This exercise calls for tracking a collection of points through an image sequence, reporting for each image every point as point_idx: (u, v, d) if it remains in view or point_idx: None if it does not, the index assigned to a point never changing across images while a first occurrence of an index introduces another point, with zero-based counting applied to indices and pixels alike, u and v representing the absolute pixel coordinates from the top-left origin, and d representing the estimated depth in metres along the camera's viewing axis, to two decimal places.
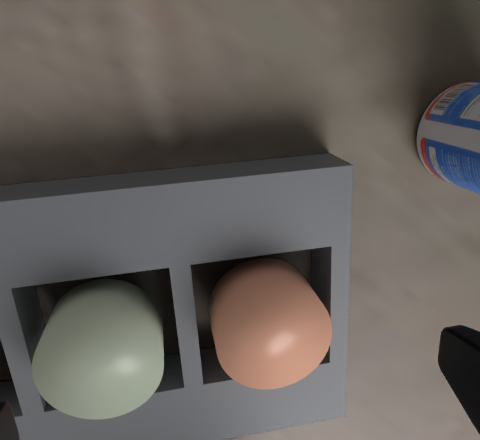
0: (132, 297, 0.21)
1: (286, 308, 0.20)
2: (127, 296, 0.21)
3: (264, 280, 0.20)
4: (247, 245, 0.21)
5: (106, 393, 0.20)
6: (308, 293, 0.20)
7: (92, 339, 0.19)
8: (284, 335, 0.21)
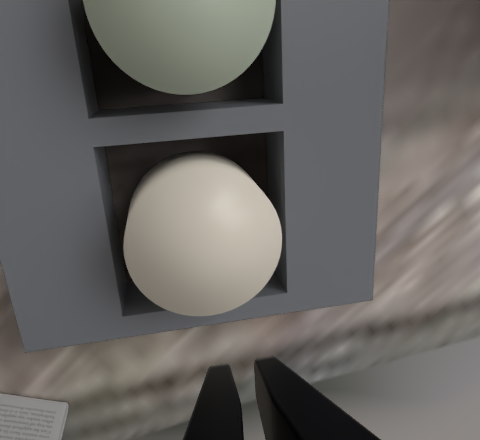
0: None
1: None
2: None
3: None
4: None
5: None
6: None
7: None
8: None
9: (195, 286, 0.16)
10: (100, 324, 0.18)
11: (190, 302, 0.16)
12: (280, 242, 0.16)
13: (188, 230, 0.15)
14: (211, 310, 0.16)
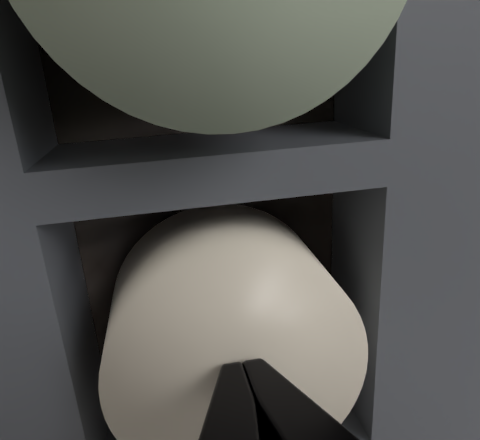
0: None
1: None
2: None
3: None
4: None
5: None
6: None
7: None
8: None
9: None
10: None
11: None
12: (364, 365, 0.10)
13: (212, 356, 0.09)
14: None
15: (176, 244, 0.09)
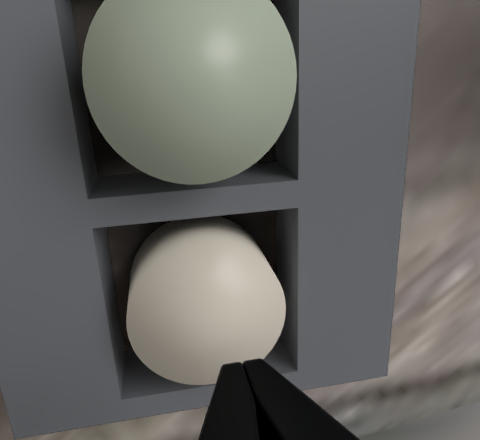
0: None
1: None
2: None
3: None
4: None
5: (244, 75, 0.12)
6: None
7: (134, 85, 0.11)
8: None
9: (197, 356, 0.16)
10: (97, 408, 0.17)
11: (192, 372, 0.16)
12: (284, 312, 0.16)
13: (192, 303, 0.15)
14: (213, 379, 0.16)
15: (172, 238, 0.16)
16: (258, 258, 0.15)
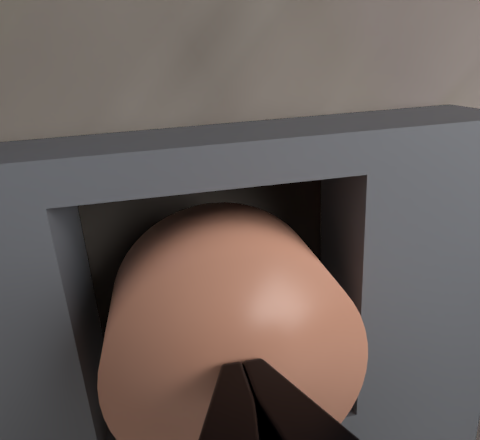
0: None
1: (156, 368, 0.09)
2: None
3: None
4: (56, 380, 0.10)
5: None
6: (115, 327, 0.08)
7: None
8: (229, 362, 0.09)
9: None
10: None
11: None
12: None
13: None
14: None
15: None
16: None
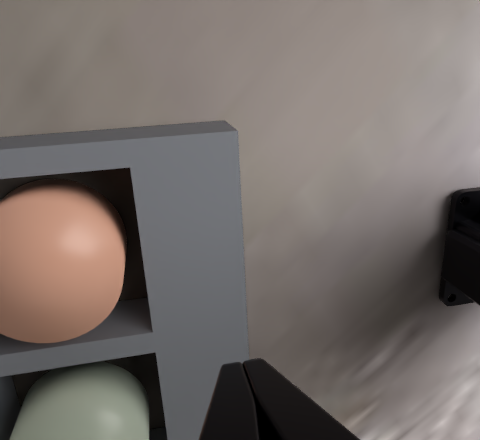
0: (20, 413, 0.18)
1: None
2: (17, 419, 0.18)
3: None
4: None
5: None
6: None
7: None
8: (34, 266, 0.16)
9: None
10: None
11: None
12: None
13: None
14: None
15: None
16: None
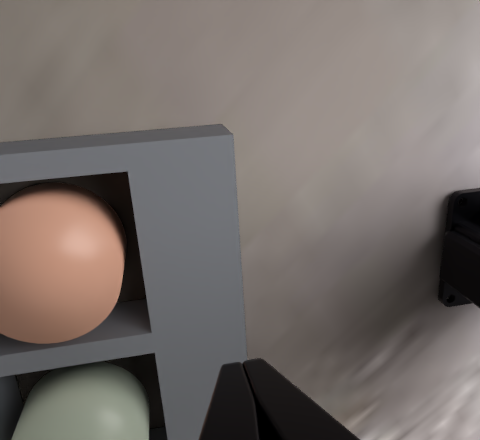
0: (22, 412, 0.19)
1: None
2: (19, 418, 0.19)
3: None
4: None
5: None
6: None
7: None
8: (34, 268, 0.16)
9: None
10: None
11: None
12: None
13: None
14: None
15: None
16: None
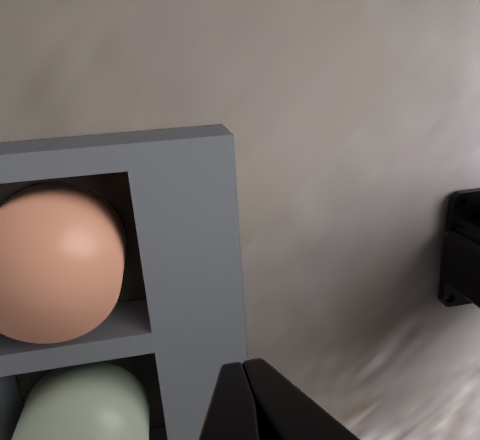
0: (22, 412, 0.19)
1: None
2: (19, 418, 0.19)
3: None
4: None
5: None
6: None
7: None
8: (34, 268, 0.16)
9: None
10: None
11: None
12: None
13: None
14: None
15: None
16: None
